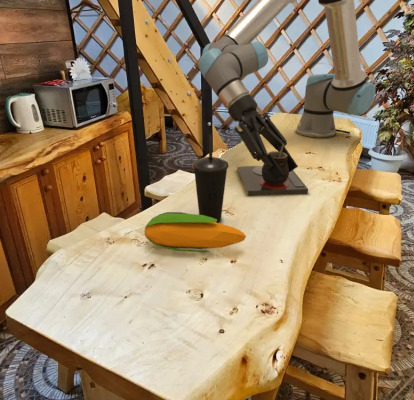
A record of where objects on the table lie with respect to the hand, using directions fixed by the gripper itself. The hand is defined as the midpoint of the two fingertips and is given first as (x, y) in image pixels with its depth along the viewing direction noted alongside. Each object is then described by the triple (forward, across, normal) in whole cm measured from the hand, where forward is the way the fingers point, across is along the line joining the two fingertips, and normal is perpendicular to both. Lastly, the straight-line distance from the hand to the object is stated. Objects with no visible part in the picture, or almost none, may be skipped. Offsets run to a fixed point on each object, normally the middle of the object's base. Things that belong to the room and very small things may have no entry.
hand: (287, 173), depth 96 cm
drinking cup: (0, +25, -8) cm, 26 cm away
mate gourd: (0, 0, -5) cm, 5 cm away
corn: (+3, +36, -4) cm, 36 cm away
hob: (-1, -3, -8) cm, 9 cm away
